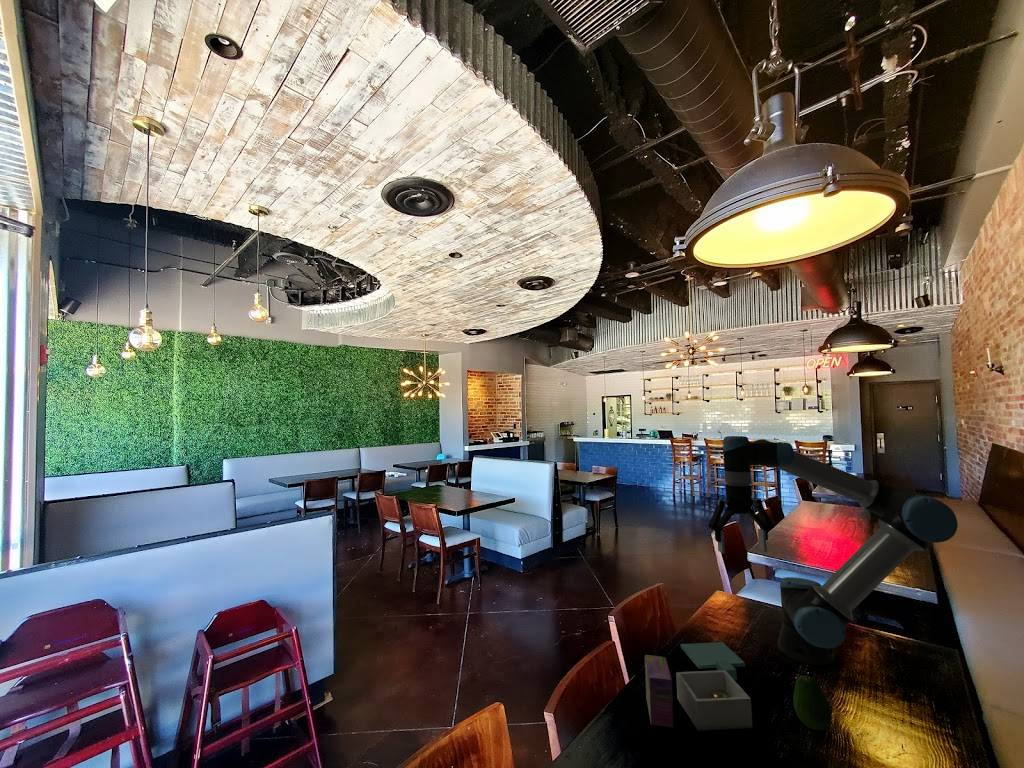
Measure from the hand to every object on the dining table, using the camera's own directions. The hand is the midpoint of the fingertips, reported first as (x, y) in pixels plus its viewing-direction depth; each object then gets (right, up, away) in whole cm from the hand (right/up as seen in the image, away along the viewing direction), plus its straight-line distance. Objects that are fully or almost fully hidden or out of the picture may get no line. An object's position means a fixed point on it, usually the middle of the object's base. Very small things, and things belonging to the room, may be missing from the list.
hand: (742, 551), depth 135 cm
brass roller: (-18, -34, -21) cm, 43 cm away
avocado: (+2, -33, -29) cm, 44 cm away
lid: (-9, -35, -2) cm, 36 cm away
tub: (-20, -34, -23) cm, 46 cm away
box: (-34, -34, -23) cm, 54 cm away
